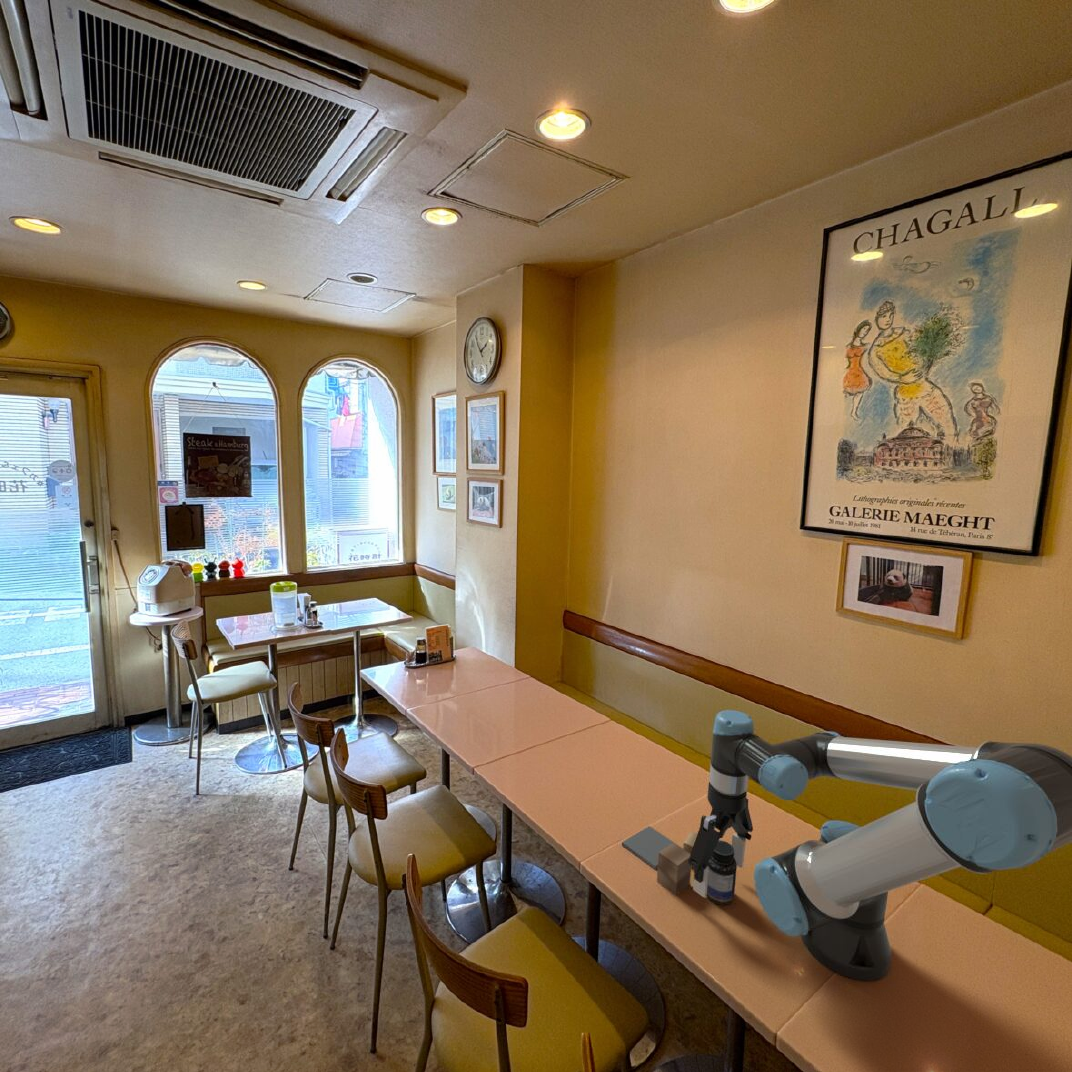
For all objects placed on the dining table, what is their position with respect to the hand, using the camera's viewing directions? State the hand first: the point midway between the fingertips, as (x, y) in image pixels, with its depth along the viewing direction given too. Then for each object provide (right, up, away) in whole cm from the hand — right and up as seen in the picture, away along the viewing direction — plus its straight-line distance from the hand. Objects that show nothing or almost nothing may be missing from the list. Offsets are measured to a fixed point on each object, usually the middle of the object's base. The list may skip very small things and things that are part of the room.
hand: (718, 878), depth 120 cm
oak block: (-2, -2, +10) cm, 11 cm away
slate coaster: (-11, -1, +14) cm, 18 cm away
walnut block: (-9, -3, +3) cm, 10 cm away
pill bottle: (0, -4, 0) cm, 4 cm away
